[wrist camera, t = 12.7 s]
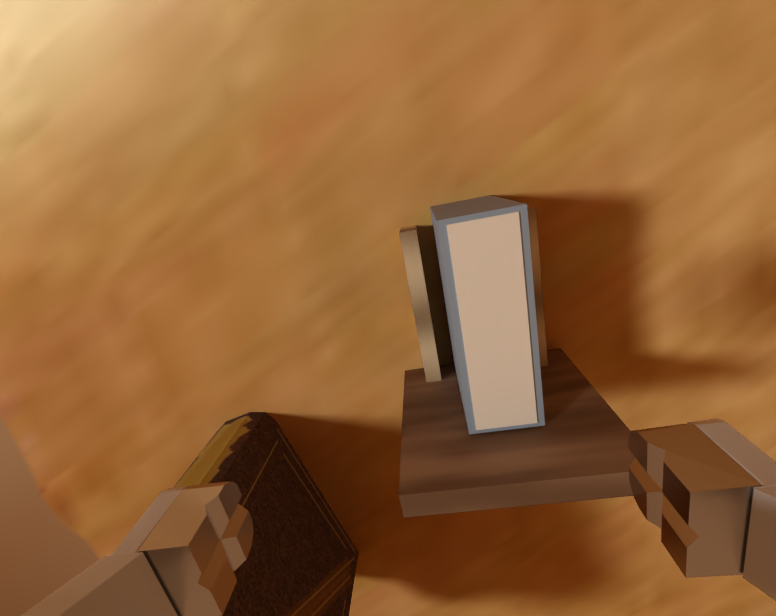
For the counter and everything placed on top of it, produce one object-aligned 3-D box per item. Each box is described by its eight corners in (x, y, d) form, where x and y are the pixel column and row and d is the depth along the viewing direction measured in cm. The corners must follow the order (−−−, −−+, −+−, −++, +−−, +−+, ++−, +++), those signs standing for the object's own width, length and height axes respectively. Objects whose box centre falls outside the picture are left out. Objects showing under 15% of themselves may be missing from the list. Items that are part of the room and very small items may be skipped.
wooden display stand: (377, 232, 30) (348, 275, 17) (551, 200, 29) (668, 220, 15) (408, 386, 34) (403, 517, 21) (561, 365, 33) (661, 492, 19)
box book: (430, 206, 30) (436, 220, 20) (490, 195, 29) (527, 204, 19) (453, 361, 33) (469, 435, 24) (507, 353, 33) (545, 426, 23)
